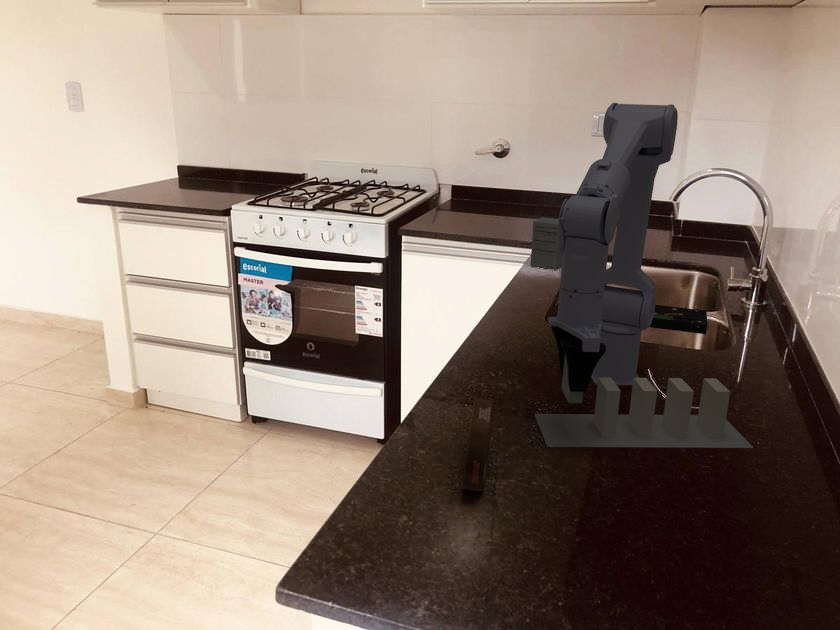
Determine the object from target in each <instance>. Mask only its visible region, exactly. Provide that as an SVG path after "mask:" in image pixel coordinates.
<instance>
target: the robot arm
mask: <svg viewBox="0 0 840 630" xmlns="http://www.w3.org/2000/svg"><path fill="white" fill-rule="evenodd" d="M678 115H679V114H678V109H677V108H676V107H675V105H674V104H672V103H671V104H670V103H669V104H667V105H665V104H636V103H635V104H634V103H633V104H631V103H618V102H612V103H611V104H610V105H609V106H608V107H607V109H606V111H605V114H604V119H603V124H602V126H603V127H602V134H603V140H604V141H605V144H606V147H605V150H604V153H603V156H602V158H600V159H598V160H596V161H594V162H593V163H592V164H591V165H590V166H589V168H588V170H587V172H586V173H585V175H584V177H583V179H582V182H581V184H580V186H579V187H578V189H577V191H576V193H575V194H574V195H571V196H570V197H568V198H565V199H564V200H563V201H562V204H561V207H560V211H559V215H558V219H559V220H558V230H559V235H560V247H559V248H560V252H562V253H563V256H562V266H561V267H560V268H561V270H560V282H559V295H558V305H557V306H558V307H557V314H556V316H549V317H548V320H547V323H548V324H549V325H550V329H551V332H552V333H553V337H554V340H555V344H556V347H557V354H558V361H559V369H560V370H559V371H560V374H561V376H562V378H563V367H564V356H566V361H567V369H568V384H569V389H570V391H571V392H583V393H586V391H587V389H588V387H589V384H590V382H591V380H592V382H593V383H594V385H596V386H597V385H598V377H605V378H612V380H613V381H614V382H615V384H616V385H617V386H633V378H640V376H639V375H638V374H637V371H638V370H637V369H638V364H639V363H638V362H639V354H640V347H641V337H642V331H646V330H647V329H648V328H650V325H651V323H652V320H653V316H654V311H655V305H656V292H657V286H656V283H655V281H654V280H653V279H652V278H651V277H650V276H649V275H648V274H646V272H645V271H644V270H643V269H642V264H643V259H644V258H643V257H644V249H645V244H646V237H647V231H648V224H649V219H650V211H651V205H652V199H653V191H654V186H655V185H654V184H655V179H656V176H657V173H658V170H659V167H660V166H662V165H664V164H667V163H669V162H670V161H671V160H672V156H673V154H674V147H675V142H676V136H677V130H678V117H679V116H678ZM614 237H615V239H614ZM613 240H614V243H613V250H612V251H613V252H612V257H611V258H612V259H611V265H610V267H609V268H607V265H608V256H609V246H610V244H611V243H612V241H613ZM612 285H613V286H612ZM617 286H620V287H617ZM623 287H628V288H623ZM631 288H634V289H631Z"/></svg>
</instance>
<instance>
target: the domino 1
mask: <svg viewBox="0 0 840 630" xmlns="http://www.w3.org/2000/svg"><path fill="white" fill-rule="evenodd" d="M561 380H562V381H561V391H562V393H563V395H564V396H565V399H566V401H567V402H568V404H582V403H583V396H584V392H571V391H570V389H569V384H568V369H567V361H566V356H564V367H563V377H562V379H561Z"/></svg>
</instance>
